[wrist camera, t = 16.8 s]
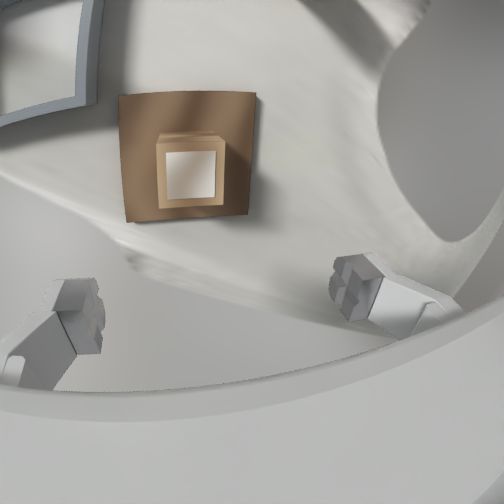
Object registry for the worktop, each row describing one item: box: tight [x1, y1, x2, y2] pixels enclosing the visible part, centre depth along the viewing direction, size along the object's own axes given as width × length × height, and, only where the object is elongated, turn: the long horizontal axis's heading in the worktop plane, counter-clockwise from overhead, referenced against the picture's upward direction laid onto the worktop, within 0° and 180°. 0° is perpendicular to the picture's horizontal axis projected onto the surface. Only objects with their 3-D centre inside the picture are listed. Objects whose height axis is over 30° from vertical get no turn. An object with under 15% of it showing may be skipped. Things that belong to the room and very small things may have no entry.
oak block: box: [156, 131, 225, 209], centre depth 23 cm, size 5×5×7 cm
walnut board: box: [119, 91, 256, 223], centre depth 27 cm, size 13×13×1 cm
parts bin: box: [0, 0, 105, 127], centre depth 14 cm, size 16×16×4 cm
